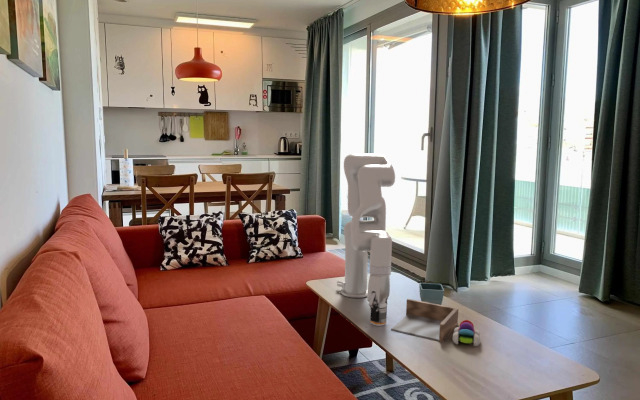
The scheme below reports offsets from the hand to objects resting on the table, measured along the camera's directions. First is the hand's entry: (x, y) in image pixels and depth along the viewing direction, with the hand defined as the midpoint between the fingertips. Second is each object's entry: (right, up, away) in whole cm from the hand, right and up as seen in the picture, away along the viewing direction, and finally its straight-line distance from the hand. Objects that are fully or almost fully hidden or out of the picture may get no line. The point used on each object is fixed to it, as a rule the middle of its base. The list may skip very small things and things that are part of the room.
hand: (378, 317), depth 178 cm
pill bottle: (0, -2, 0) cm, 2 cm away
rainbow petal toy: (+27, -5, -15) cm, 31 cm away
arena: (+16, -3, -2) cm, 16 cm away
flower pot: (+23, -1, +17) cm, 28 cm away
